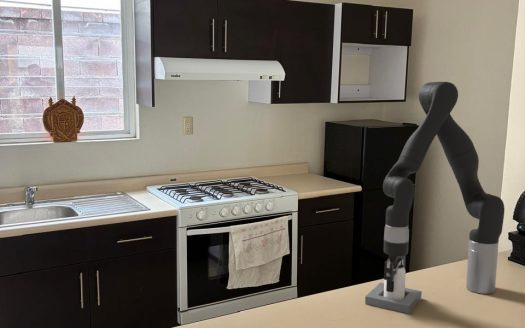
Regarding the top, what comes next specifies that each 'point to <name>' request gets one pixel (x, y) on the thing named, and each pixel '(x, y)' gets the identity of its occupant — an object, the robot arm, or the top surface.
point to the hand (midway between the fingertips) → (394, 287)
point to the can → (397, 285)
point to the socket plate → (403, 305)
